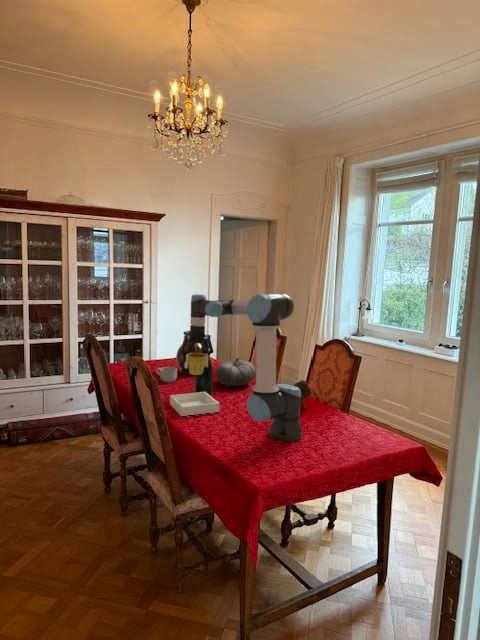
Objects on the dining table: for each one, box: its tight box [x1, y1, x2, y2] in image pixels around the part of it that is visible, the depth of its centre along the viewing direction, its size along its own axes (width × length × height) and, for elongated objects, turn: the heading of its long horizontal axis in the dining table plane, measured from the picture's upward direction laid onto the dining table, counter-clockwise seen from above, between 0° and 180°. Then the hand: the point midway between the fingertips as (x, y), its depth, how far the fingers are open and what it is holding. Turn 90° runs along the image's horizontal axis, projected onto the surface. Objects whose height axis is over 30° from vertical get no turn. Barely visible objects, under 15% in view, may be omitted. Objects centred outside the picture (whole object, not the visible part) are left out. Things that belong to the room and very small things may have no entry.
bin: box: [169, 392, 220, 417], centre depth 231 cm, size 20×20×5 cm
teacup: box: [156, 366, 178, 383], centre depth 279 cm, size 14×11×8 cm
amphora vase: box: [175, 330, 202, 376], centre depth 300 cm, size 22×22×28 cm
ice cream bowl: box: [293, 379, 313, 409], centre depth 241 cm, size 11×11×15 cm
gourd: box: [215, 357, 256, 388], centre depth 277 cm, size 25×25×17 cm
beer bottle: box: [194, 337, 214, 397], centre depth 253 cm, size 10×10×33 cm
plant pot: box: [187, 353, 207, 376], centre depth 228 cm, size 10×10×10 cm
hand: (196, 367), depth 228 cm, fingers closed on plant pot, 10 cm apart
